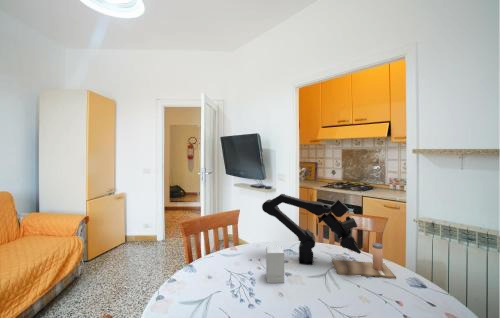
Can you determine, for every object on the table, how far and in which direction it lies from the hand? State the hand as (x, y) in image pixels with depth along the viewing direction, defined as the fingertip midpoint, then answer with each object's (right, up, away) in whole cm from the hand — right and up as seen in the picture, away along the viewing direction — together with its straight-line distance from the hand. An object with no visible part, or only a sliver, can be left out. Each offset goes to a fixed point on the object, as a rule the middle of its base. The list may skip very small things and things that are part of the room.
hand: (358, 248), depth 103 cm
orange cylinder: (+8, -8, -2) cm, 11 cm away
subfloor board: (+1, -9, -1) cm, 9 cm away
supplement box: (-40, -10, -8) cm, 42 cm away
